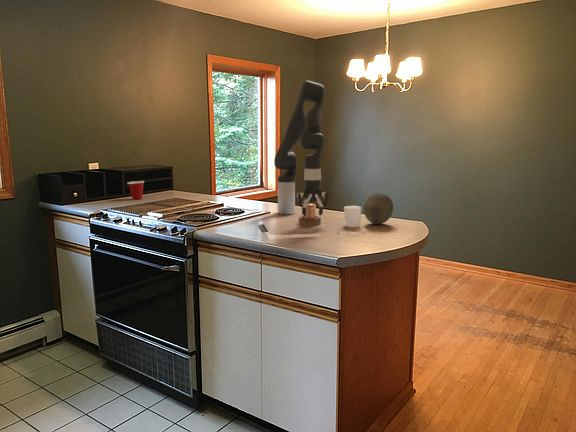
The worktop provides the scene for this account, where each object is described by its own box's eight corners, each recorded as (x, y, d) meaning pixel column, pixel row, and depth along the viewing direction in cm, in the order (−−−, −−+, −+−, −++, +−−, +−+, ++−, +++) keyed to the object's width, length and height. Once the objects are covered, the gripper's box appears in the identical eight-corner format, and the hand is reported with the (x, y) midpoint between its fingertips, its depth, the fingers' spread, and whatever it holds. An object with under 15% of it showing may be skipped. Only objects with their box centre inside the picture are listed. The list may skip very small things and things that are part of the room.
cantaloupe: (357, 223, 222) (358, 192, 220) (382, 221, 227) (383, 191, 225) (372, 228, 209) (373, 195, 207) (399, 226, 214) (400, 194, 212)
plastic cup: (128, 198, 312) (127, 181, 310) (145, 197, 315) (144, 180, 313) (128, 200, 302) (126, 182, 300) (145, 200, 305) (144, 182, 303)
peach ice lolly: (302, 222, 216) (302, 203, 214) (314, 222, 217) (314, 203, 215) (306, 226, 207) (306, 206, 206) (318, 226, 208) (318, 206, 206)
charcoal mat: (258, 225, 217) (258, 224, 216) (283, 224, 219) (283, 223, 219) (262, 231, 203) (262, 230, 203) (289, 230, 205) (289, 229, 205)
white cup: (359, 227, 213) (359, 205, 211) (362, 230, 205) (363, 208, 204) (342, 227, 213) (342, 205, 211) (344, 230, 205) (345, 208, 203)
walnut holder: (292, 224, 219) (292, 215, 219) (320, 223, 222) (320, 214, 221) (297, 230, 206) (297, 220, 205) (328, 229, 208) (328, 219, 207)
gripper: (326, 177, 210) (325, 213, 213) (295, 178, 207) (295, 214, 210) (330, 179, 203) (329, 216, 205) (298, 179, 200) (298, 217, 203)
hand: (312, 215), depth 208 cm, fingers open, 6 cm apart
